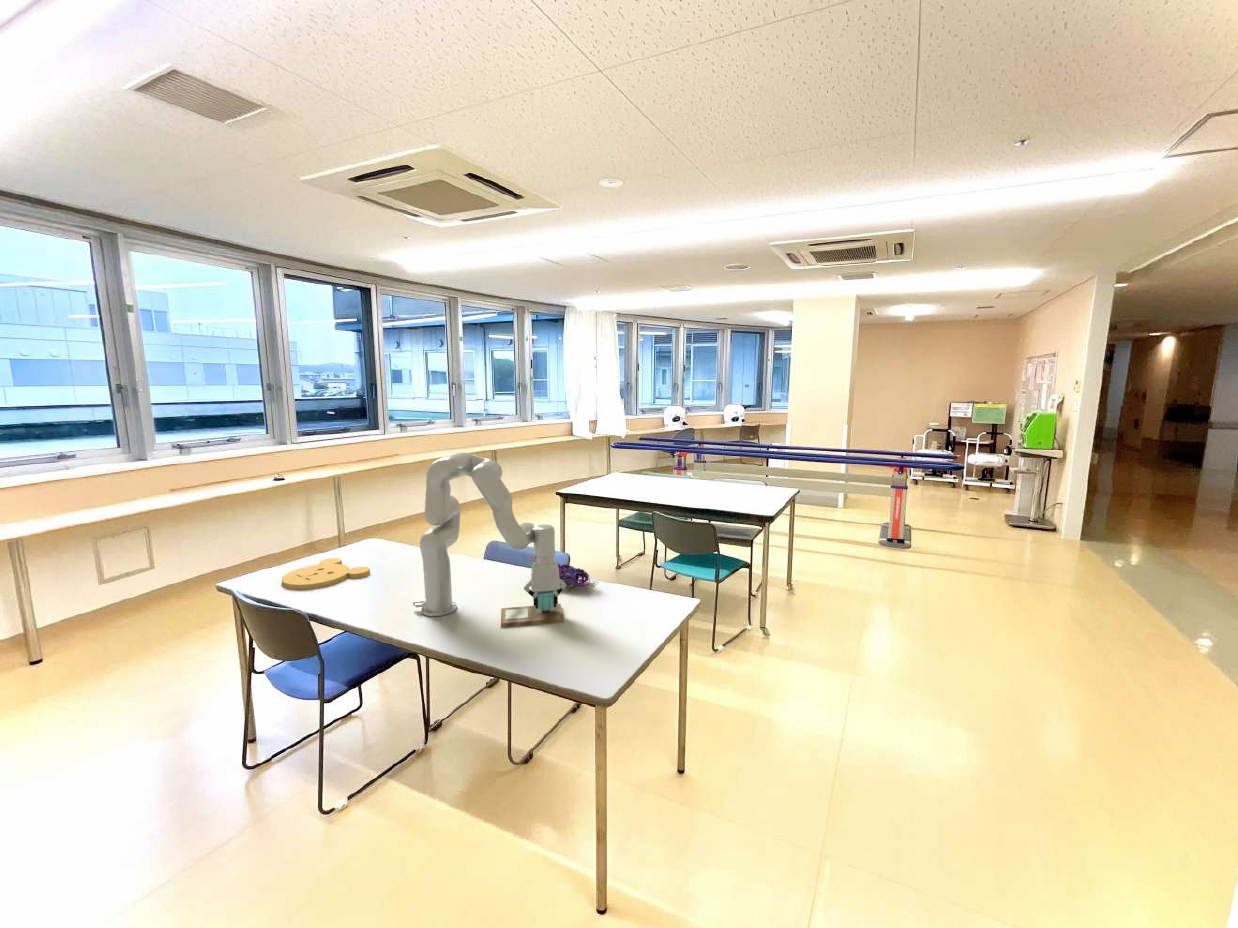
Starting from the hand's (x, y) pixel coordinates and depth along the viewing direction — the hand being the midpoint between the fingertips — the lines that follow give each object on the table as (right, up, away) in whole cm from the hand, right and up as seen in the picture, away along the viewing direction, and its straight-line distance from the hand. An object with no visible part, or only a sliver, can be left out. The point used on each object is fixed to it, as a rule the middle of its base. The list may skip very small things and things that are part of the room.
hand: (545, 606), depth 196 cm
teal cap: (0, 0, 0) cm, 0 cm away
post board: (-5, -4, 0) cm, 6 cm away
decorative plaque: (-104, +2, +39) cm, 111 cm away
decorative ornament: (+4, 0, +30) cm, 30 cm away
